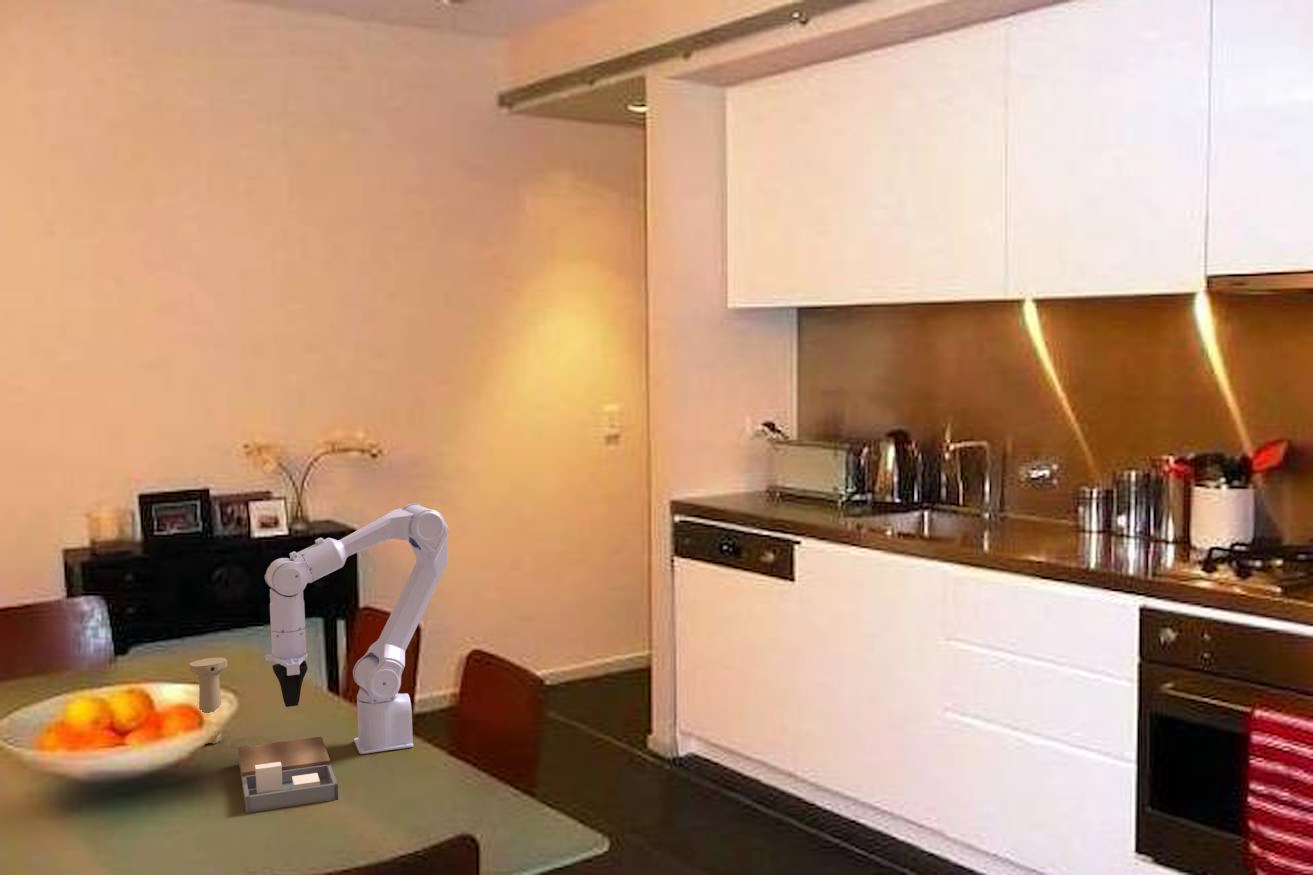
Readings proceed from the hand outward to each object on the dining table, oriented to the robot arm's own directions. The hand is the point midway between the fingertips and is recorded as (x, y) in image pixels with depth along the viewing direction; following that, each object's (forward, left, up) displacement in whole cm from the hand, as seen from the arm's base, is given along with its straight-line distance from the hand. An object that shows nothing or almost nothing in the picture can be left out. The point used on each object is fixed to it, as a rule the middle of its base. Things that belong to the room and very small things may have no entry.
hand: (291, 705), depth 213 cm
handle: (+13, -16, -10) cm, 23 cm away
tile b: (+5, +13, -7) cm, 15 cm away
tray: (+2, +16, -10) cm, 19 cm away
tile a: (0, +17, -7) cm, 18 cm away
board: (+2, +5, -10) cm, 11 cm away
